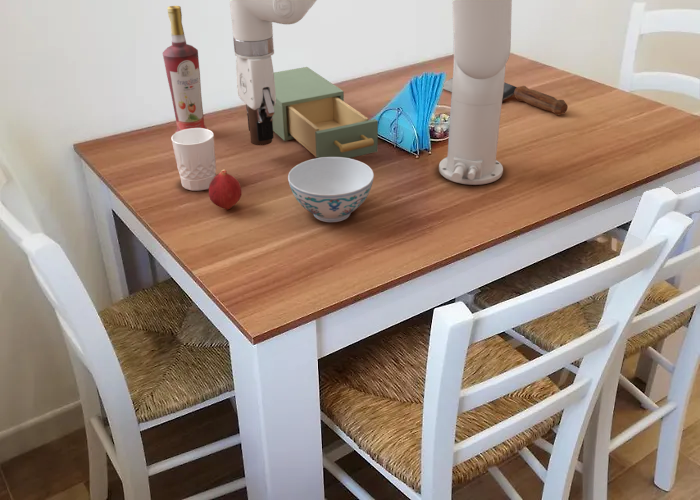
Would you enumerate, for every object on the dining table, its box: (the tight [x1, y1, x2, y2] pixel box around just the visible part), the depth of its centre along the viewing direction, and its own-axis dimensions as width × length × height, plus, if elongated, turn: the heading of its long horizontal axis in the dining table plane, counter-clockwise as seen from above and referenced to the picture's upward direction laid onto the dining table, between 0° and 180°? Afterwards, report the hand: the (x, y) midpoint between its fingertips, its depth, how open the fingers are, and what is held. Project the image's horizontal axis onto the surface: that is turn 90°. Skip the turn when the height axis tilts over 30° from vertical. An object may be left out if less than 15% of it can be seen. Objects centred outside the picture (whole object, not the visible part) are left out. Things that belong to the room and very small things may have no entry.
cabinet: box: [272, 66, 345, 142], centre depth 164 cm, size 20×15×9 cm
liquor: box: [162, 5, 208, 133], centre depth 152 cm, size 7×7×28 cm
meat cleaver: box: [442, 77, 568, 116], centre depth 175 cm, size 34×11×4 cm, turn 36°
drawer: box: [286, 96, 379, 159], centre depth 150 cm, size 23×14×7 cm, turn 27°
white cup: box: [170, 128, 217, 192], centre depth 137 cm, size 8×8×10 cm
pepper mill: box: [247, 103, 273, 147], centre depth 143 cm, size 4×4×9 cm
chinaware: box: [287, 157, 375, 223], centre depth 126 cm, size 15×15×8 cm
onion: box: [208, 169, 242, 211], centre depth 128 cm, size 6×6×8 cm
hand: (261, 134), depth 145 cm, fingers closed on pepper mill, 4 cm apart
